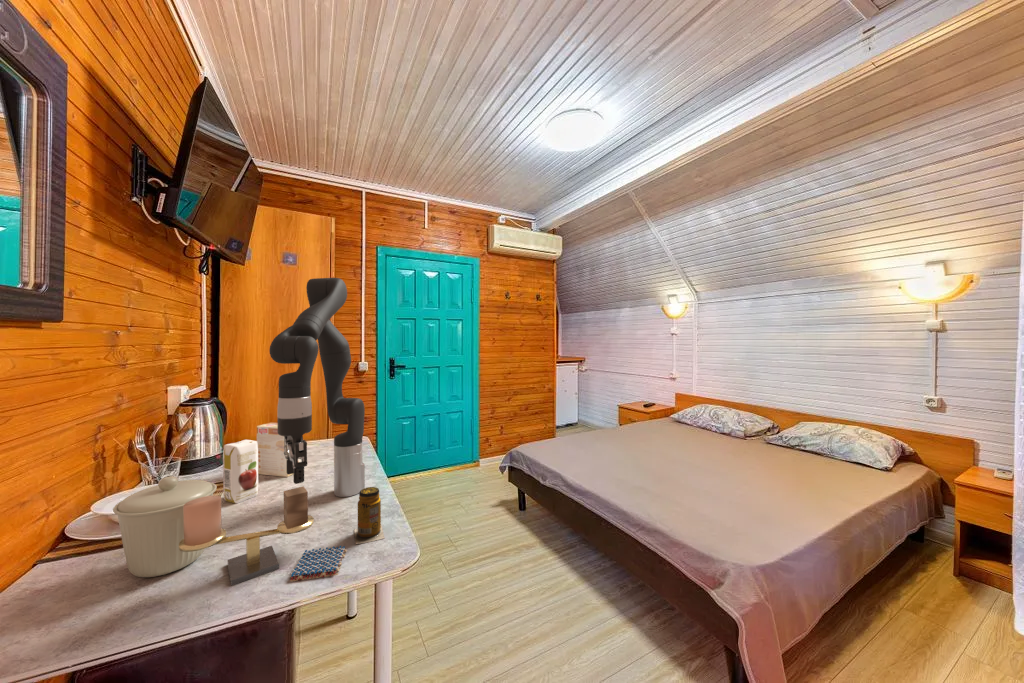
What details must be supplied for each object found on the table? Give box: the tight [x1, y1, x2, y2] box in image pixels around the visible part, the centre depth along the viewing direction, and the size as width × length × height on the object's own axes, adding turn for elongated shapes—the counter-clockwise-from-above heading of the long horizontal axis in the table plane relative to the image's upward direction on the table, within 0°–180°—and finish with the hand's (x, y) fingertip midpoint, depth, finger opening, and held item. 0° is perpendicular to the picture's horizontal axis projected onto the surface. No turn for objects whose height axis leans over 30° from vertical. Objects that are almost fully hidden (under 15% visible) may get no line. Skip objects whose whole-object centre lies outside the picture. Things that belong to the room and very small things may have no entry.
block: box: [283, 485, 309, 529], centre depth 93 cm, size 4×4×8 cm
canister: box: [112, 475, 217, 578], centre depth 88 cm, size 18×18×21 cm
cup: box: [183, 495, 223, 546], centre depth 81 cm, size 6×6×8 cm
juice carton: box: [222, 439, 259, 504], centre depth 124 cm, size 8×9×19 cm
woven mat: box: [289, 545, 348, 582], centre depth 87 cm, size 10×11×2 cm
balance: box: [179, 514, 315, 587], centre depth 87 cm, size 26×10×10 cm, turn 132°
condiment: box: [353, 486, 385, 545], centre depth 101 cm, size 7×8×12 cm
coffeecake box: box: [256, 422, 302, 478], centre depth 147 cm, size 15×7×20 cm, turn 77°
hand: (295, 477), depth 93 cm, fingers open, 8 cm apart
